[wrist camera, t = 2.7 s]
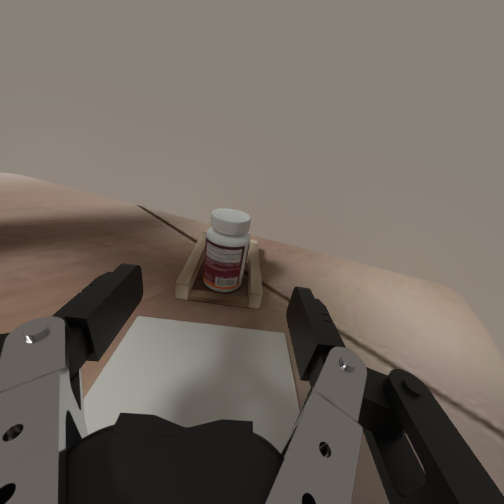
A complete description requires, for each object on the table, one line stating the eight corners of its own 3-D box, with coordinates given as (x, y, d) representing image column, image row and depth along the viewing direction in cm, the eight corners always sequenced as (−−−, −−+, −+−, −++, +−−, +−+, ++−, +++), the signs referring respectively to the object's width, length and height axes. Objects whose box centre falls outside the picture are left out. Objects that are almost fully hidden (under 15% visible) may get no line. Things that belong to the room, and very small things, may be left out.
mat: (24, 497, 9) (21, 494, 8) (138, 318, 17) (137, 315, 17) (315, 505, 10) (317, 504, 10) (283, 335, 19) (284, 332, 19)
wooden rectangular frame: (175, 298, 20) (175, 282, 19) (201, 243, 32) (202, 231, 31) (259, 308, 21) (262, 294, 20) (255, 251, 33) (257, 240, 32)
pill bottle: (218, 265, 27) (225, 204, 23) (248, 280, 25) (262, 216, 22) (193, 281, 23) (197, 211, 19) (227, 300, 21) (239, 227, 18)
